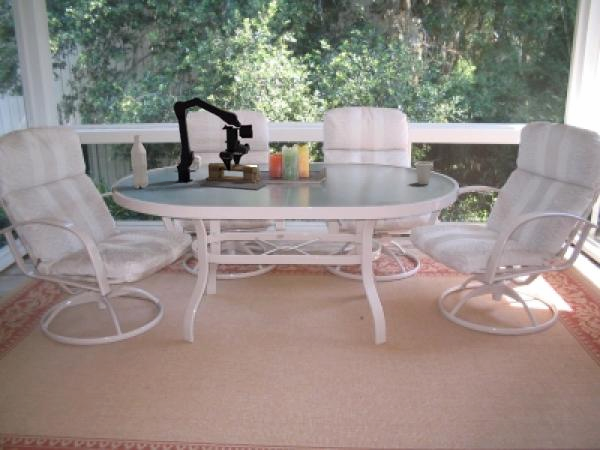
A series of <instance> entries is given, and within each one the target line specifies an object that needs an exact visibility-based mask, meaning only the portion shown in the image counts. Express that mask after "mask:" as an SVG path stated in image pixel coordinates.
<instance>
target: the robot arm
mask: <svg viewBox="0 0 600 450" xmlns="http://www.w3.org/2000/svg"><path fill="white" fill-rule="evenodd" d="M193 107H198V108H201V109H203V110H204V111H207V112H208V113H210V114H212V115H215V116H216V117H218V118H219V119H220V120H222V121H223V122H224V123H226V124H224V126H223V127H221V129H222V130H223V131H225V132H226V134H225V136H226V137H225V138H226V140H224V143H225V144H226V149H224V150H223V151H220V152H219V153H218V157H219V158H220V160H221V161H222V163H224V164H225V166H226V168H227V170H228V171H227V172H231V171H230V170H231V164H232V160H233V162H234V164H238V165H240V162H241V159H242V157H243V156H245V155H247V154H249V151H250V150H251V147H250V143H248V142H246V143H243V144H242V143H241V141H240V139H239V137H240V138H241V139H254V130H253V124H242V123H241V122H240V121H239V118H238V117H239V116H238V115H237V114H236V113H235V112H233V111H229V110H225V109H222V108H220V107H218V106H216V105H214V104H212V103H210V102H208V101H206V100H204V99H202V98H201V97H199V96H196V97H194V98H190V99H188V100H186V101H184V100H178V101H176V102H175V103H174V104H173V110H174V111H173V112H174V114H175V117H176V119H177V123H178V132H179V138H180V147H181V149H180V150H181V153H180V162H179V163H178V165H177V166H176V170H177V178H178V179H176V181H175V183H190V182H192V181H193V180H194V179H191V168H190V166H191V165H192V163H193V162H194V159H195V157H194V155H195V150H192V149H191V145H190V138H189V137H190V136H189V130H188V123H187V116H188V109H190V108H193Z"/></svg>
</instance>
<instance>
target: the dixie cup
mask: <svg viewBox="0 0 600 450" xmlns="http://www.w3.org/2000/svg"><path fill="white" fill-rule="evenodd" d="M415 166H416V168H415V169H416V182H417V184H419V185H429V184H430V181H431V175H432V169H433V162H431V161H416V162H415Z"/></svg>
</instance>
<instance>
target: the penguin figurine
mask: <svg viewBox="0 0 600 450" xmlns="http://www.w3.org/2000/svg"><path fill="white" fill-rule="evenodd" d="M194 157H195V159H194V162H193V163H192V165H191V166H190V169H191V170H194V172H198V171H199V170H200V169H201V167H202V157H201V156H200V155H198V154H194Z"/></svg>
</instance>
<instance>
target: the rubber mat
mask: <svg viewBox="0 0 600 450" xmlns="http://www.w3.org/2000/svg"><path fill="white" fill-rule="evenodd" d="M266 186H267V184H264V183H263V184H262V183H257V184H253V183H239V182H224V181H206V182H203V183H202V184H200V187H206V188H207V187H209V188H210V187H211V188H221V189H234V190H237V189H238V190H250V191H251V190H252V191H258V190H260V189H262V188H264V187H266Z"/></svg>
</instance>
